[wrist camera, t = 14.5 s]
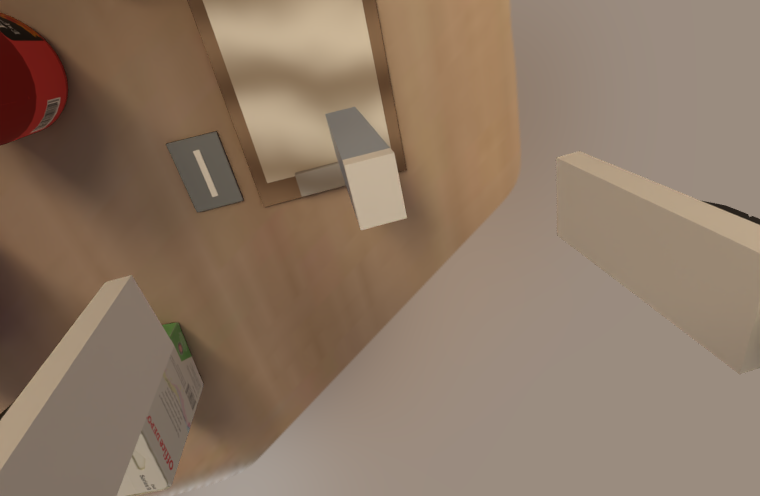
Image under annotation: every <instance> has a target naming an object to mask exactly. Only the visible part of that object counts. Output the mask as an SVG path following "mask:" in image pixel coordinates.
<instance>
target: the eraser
mask: <svg viewBox="0 0 760 496" xmlns="http://www.w3.org/2000/svg"><path fill="white" fill-rule="evenodd" d="M325 115H326V119H327V123H328V127H329V131H330V134H331V138H332V142H333V146H334V150H335V153H336V157H337V160H338V163H339V166H340V169H341V172H342V175H343V178H344V181H345V184H346V187H347V190H348V193H349V196H350V199H351V202H352V205H353V208H354V211H355V214H356V217H357V220H358V223H359V226H360V229H361V230H364V229H368V228H372V227H375V226H379V225H383V224H387V223H390V222H394V221H398V220H402V219H405V218H407V216H406V210H405V205H404V200H403V195H402V190H401V185H400V180H399V174H398V169H397V164H396V159H395V154H394V152H393V151H392V149H391V148H390V147H389V146H388V145H387V144H386V142H385V141H384V140H383V139H382V138H381V137H380V135H379V134H378V133H377V132H376V131H375V129H374V128H373V127H372V126H371V125H370V124H369V122H368V121H367V120H366V119H365V118H364V117H363V115H362V114H361V113H360V112H359V111H358V110H357V108H356V107H351V108H347V109H343V110H339V111H335V112H331V113H327V114H325Z"/></svg>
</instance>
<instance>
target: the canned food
mask: <svg viewBox="0 0 760 496" xmlns="http://www.w3.org/2000/svg"><path fill="white" fill-rule="evenodd" d="M67 96H68V83H67V77H66V74H65V70H64V67H63V65H62V63H61V61H60V59H59V57H58V55H57V54H56V53H55V51H54V50H53V49H52V47H51V46H50V45H49V44H48V43H47V42H46V41H45V40H44V38H43V37H42V36H41V35H39V34H38V33H37V32H35V31H34V30H33V29H31V28H30V27H29V26H27V25H25V24H24V23H22V22H20V21H18V20H17V19H15V18H13V17H11V16H8V15H5V14H3V13H0V146H1V145H3V144H6V143H9V142H11V141H14V140H17V139H20V138H22V137H25V136H28V135H30V134H33V133H36V132H39V131H41V130H43V129H45V128H47V127H49V126H50V125H51V124H52V123H53V122H55V121H56V120H57V118H58V117H59V115H60V114H61V112H62V111H63V109H64V107H65V104H66V101H67Z"/></svg>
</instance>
